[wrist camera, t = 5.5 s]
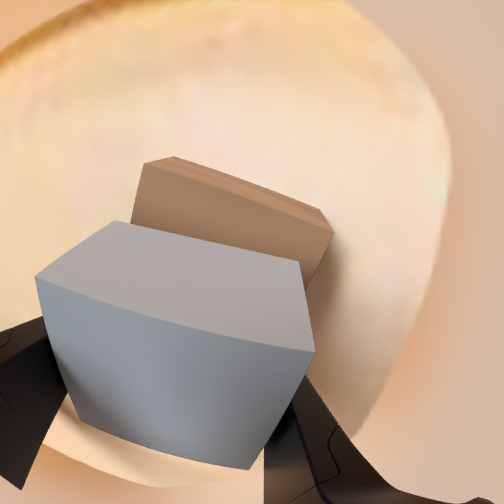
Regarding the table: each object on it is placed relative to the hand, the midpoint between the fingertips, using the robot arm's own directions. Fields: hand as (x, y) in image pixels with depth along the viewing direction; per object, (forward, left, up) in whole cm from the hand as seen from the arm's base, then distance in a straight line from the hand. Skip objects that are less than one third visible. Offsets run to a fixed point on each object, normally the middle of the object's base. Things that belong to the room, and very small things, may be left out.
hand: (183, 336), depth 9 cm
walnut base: (0, 0, -8) cm, 8 cm away
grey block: (0, 0, -1) cm, 1 cm away
